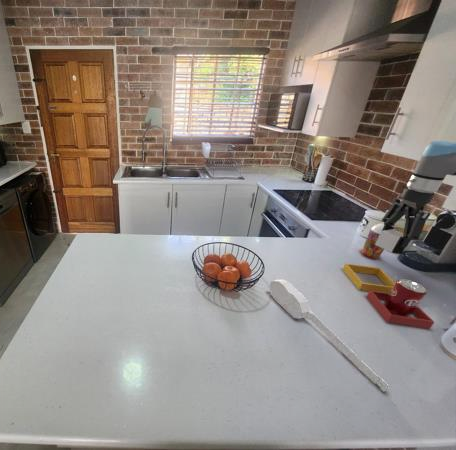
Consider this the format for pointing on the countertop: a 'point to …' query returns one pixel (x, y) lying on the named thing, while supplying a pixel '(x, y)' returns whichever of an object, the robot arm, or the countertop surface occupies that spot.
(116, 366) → the countertop surface
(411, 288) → the soda can
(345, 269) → the yellow bin
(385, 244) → the white cube
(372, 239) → the smoothie
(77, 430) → the countertop surface
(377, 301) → the red bin
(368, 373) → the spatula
